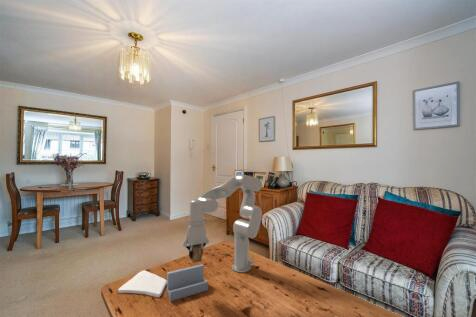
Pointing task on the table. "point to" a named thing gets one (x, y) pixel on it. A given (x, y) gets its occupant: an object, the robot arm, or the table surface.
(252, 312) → the table surface
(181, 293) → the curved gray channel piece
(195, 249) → the brown block
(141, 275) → the flat white fragment
